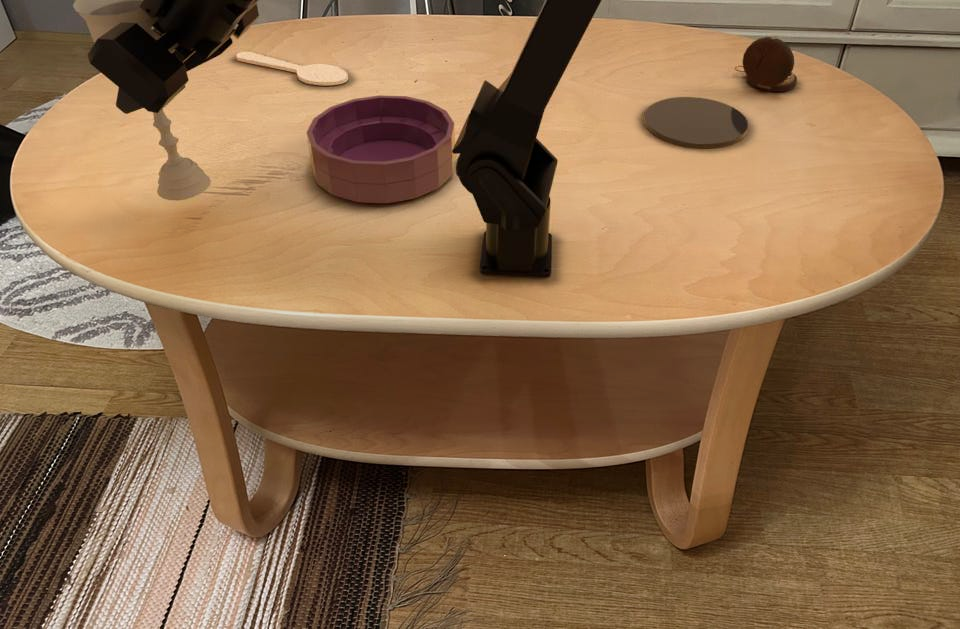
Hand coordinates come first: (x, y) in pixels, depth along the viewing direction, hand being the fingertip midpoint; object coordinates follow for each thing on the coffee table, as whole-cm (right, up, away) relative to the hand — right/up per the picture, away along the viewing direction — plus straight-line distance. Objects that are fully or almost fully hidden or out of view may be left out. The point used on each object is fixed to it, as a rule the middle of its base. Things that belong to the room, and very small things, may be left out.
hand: (138, 94), depth 71 cm
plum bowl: (+20, -4, +16) cm, 26 cm away
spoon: (+5, +13, +36) cm, 39 cm away
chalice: (+2, -7, +6) cm, 10 cm away
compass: (+67, +10, +32) cm, 75 cm away
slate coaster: (+56, +3, +24) cm, 61 cm away
